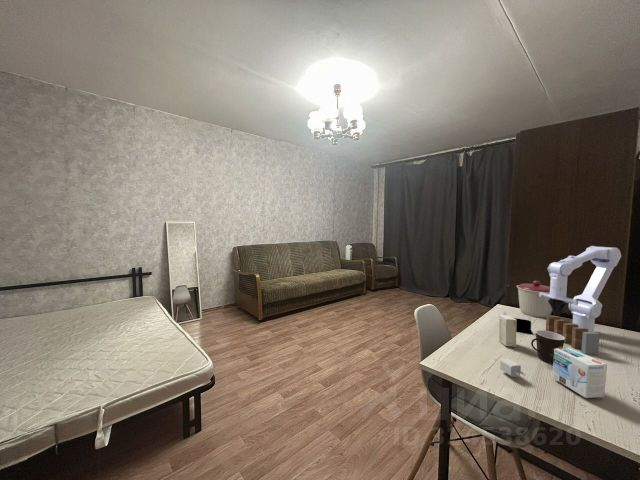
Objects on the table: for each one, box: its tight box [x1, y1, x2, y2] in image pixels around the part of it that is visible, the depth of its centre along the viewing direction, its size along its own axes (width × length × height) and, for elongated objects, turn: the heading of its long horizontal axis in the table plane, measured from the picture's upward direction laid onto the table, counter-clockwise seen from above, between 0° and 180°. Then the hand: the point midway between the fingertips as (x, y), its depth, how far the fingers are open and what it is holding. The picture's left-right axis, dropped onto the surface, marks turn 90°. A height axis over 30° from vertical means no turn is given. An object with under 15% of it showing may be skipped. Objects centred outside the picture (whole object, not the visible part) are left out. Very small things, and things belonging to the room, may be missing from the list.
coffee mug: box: [530, 329, 565, 364], centre depth 99 cm, size 12×9×10 cm
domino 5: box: [580, 331, 600, 356], centre depth 102 cm, size 2×5×9 cm, turn 86°
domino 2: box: [554, 319, 570, 336], centre depth 116 cm, size 2×5×9 cm, turn 86°
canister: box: [516, 280, 553, 319], centre depth 145 cm, size 18×18×21 cm
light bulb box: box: [551, 347, 608, 399], centre depth 81 cm, size 11×7×11 cm, turn 5°
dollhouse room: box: [503, 311, 534, 336], centre depth 128 cm, size 12×12×7 cm
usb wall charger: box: [499, 358, 526, 378], centre depth 88 cm, size 4×7×4 cm, turn 7°
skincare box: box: [498, 314, 517, 347], centre depth 111 cm, size 6×4×12 cm
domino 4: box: [570, 327, 588, 350], centre depth 107 cm, size 2×5×9 cm, turn 86°
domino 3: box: [563, 322, 579, 345], centre depth 111 cm, size 2×5×9 cm, turn 86°
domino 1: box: [545, 315, 561, 332], centre depth 120 cm, size 2×5×9 cm, turn 86°
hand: (556, 315), depth 118 cm, fingers closed
